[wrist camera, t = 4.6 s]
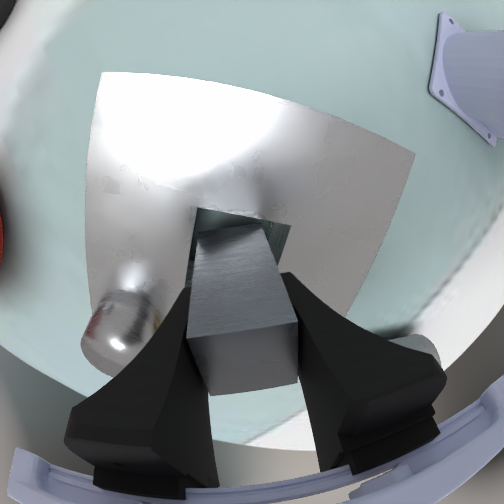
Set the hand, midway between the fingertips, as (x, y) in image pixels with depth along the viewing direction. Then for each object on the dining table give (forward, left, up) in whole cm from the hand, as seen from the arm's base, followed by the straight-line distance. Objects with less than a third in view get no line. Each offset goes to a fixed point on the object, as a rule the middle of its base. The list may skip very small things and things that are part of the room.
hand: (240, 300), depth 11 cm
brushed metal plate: (0, 0, -6) cm, 6 cm away
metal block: (0, 0, -3) cm, 4 cm away
